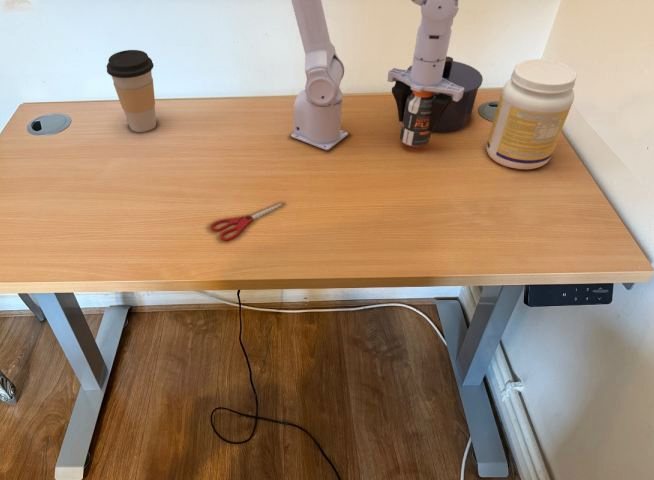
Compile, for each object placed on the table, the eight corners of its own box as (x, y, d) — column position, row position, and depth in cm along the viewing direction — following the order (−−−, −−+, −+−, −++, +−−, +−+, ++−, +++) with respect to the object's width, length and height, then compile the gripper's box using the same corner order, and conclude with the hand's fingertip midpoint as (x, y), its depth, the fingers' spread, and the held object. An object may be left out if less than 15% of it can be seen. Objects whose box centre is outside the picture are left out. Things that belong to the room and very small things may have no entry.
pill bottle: (411, 150, 105) (421, 96, 97) (393, 136, 109) (401, 83, 101) (435, 142, 107) (447, 88, 99) (417, 129, 111) (427, 76, 103)
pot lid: (396, 91, 109) (400, 68, 106) (414, 60, 119) (417, 39, 116) (475, 103, 105) (481, 81, 101) (486, 70, 114) (492, 49, 111)
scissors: (208, 228, 94) (208, 224, 93) (273, 199, 99) (272, 194, 98) (225, 244, 91) (224, 240, 90) (290, 213, 96) (290, 209, 95)
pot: (394, 125, 115) (400, 87, 109) (410, 95, 124) (416, 58, 118) (463, 138, 111) (473, 99, 105) (474, 105, 120) (484, 68, 114)
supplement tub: (563, 164, 103) (599, 79, 91) (510, 177, 101) (540, 92, 89) (522, 133, 111) (550, 52, 99) (472, 145, 109) (494, 63, 97)
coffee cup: (143, 111, 123) (128, 44, 112) (173, 122, 119) (161, 54, 108) (112, 128, 117) (94, 61, 107) (142, 141, 113) (127, 72, 103)
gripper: (383, 53, 97) (374, 121, 107) (458, 73, 91) (441, 144, 100) (402, 40, 101) (392, 107, 111) (475, 59, 94) (458, 128, 104)
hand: (417, 124), depth 106 cm, fingers closed on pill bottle, 6 cm apart
